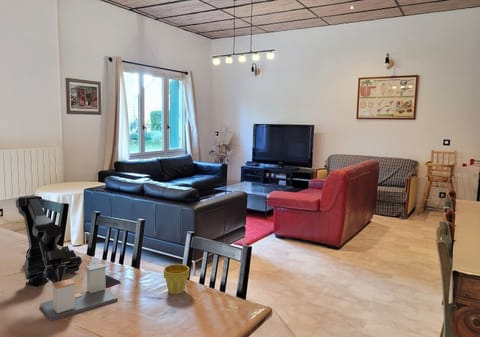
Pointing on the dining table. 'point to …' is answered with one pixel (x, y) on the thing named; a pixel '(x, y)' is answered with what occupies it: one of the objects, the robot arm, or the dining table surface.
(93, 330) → the dining table surface
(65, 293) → the white box tan lid
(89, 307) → the grey flat board
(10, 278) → the dining table surface
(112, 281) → the smartphone
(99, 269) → the grey rectangular block
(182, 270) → the plant pot
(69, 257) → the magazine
